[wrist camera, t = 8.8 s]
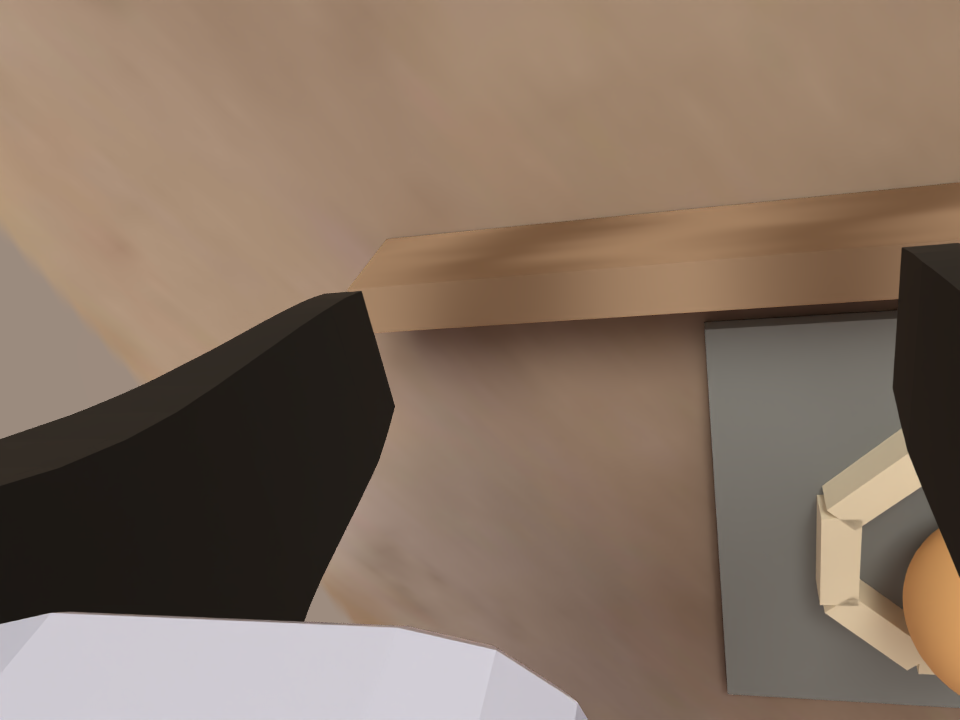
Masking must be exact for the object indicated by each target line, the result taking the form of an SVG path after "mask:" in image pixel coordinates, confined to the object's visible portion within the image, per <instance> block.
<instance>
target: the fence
mask: <svg viewBox="0 0 960 720" xmlns="http://www.w3.org/2000/svg"><path fill="white" fill-rule="evenodd" d="M949 243H960V183H950V184H940V185H930V186H920V187H910V188H899V189H889V190H879V191H869V192H859V193H849V194H839V195H829V196H818V197H808V198H798V199H788V200H778V201H768V202H758V203H748V204H737V205H727V206H717V207H707V208H697V209H687V210H677V211H667V212H656V213H646V214H636V215H626V216H616V217H606V218H596V219H586V220H575V221H565V222H555V223H545V224H535V225H525V226H515V227H505V228H494V229H484V230H474V231H464V232H454V233H444V234H434V235H424V236H414V237H403V238H393V239H386V241H385V242H384V243H383V245H382V246H381V247H380V248H379V250H378V251H377V252H376V254H375V255H374V256H373V257H372V259H371V260H370V261H369V263H368V264H367V265H366V266H365V268H364V269H363V270H362V272H361V273H360V274H359V275H358V277H357V278H356V279H355V281H354V282H353V283H352V284H351V286H350V287H349V288H348V292H354V291H362V293H363V297H364V300H365V304H366V307H367V311H368V314H369V318H370V321H371V325H372V328H373V332H374V333H382V332H397V331H413V330H428V329H443V328H459V327H474V326H490V325H505V324H521V323H536V322H551V321H567V320H582V319H598V318H613V317H629V316H644V315H659V314H675V313H690V312H706V311H721V310H737V309H752V308H767V307H783V306H798V305H814V304H829V303H845V302H860V301H875V300H891V299H898V296H899V281H900V266H901V250H902V247H912V246H924V245H937V244H949Z"/></svg>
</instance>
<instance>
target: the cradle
mask: <svg viewBox="0 0 960 720" xmlns="http://www.w3.org/2000/svg"><path fill="white" fill-rule="evenodd" d="M897 311H898V310H896V311H880V312H863V313H847V314H831V315H814V316H798V317H782V318H765V319H749V320H733V321H716V322H704V323H705V343H706V359H707V375H708V391H709V406H710V422H711V438H712V454H713V470H714V485H715V501H716V517H717V533H718V548H719V564H720V580H721V596H722V611H723V627H724V643H725V659H726V674H727V690H728V694H734V695H751V696H767V697H784V698H801V699H817V700H834V701H851V702H868V703H884V704H901V705H918V706H934V707H951V708H960V695H958V694H957V693H956V692H954V691H953V690H951V689H950V688H949V687H948V686H947V685H946V684H945V683H943V682H942V681H941V680H940V679H939V678H938V677H937V676H936V675H935V674H934V673H933V672H932V670H931V669H930V668H929V667H928V665H927V664H926V663H925V661H924V660H923V659H922V657H921V656H920V654H919V652H918V650H917V649H916V647H915V645H914V643H913V641H912V639H911V636H910V634H909V631H908V628H907V625H906V621H905V616H904V611H903V586H904V580H905V576H906V572H907V569H908V566H909V564H910V562H911V560H912V558H913V556H914V554H915V552H916V551H917V550H918V548H919V547H920V546H921V544H922V543H923V542H924V541H925V540H926V539H927V538H928V537H929V536H930V535H931V534H932V533H933V532H934V531H936V530H937V529H938V528H939V527H938V525H937V522H936V520H935V518H934V515H933V513H932V510H931V508H930V506H929V503H928V501H927V498H926V496H925V494H924V491H923V489H922V486H921V484H920V481H919V479H918V476H917V474H916V471H915V469H914V467H913V464H912V461H911V459H910V456H909V454H908V451H907V447H906V443H905V439H904V435H903V431H902V427H901V423H900V419H899V415H898V410H897V406H896V401H895V397H894V392H893V373H894V357H895V342H896V327H897Z"/></svg>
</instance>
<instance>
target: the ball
mask: <svg viewBox="0 0 960 720" xmlns="http://www.w3.org/2000/svg"><path fill="white" fill-rule="evenodd" d="M903 611H904V616H905V621H906V625H907V628H908V631H909V634H910V636H911V639H912V641H913V643H914V645H915V647H916V649H917V650H918V652H919V654H920V656H921V657H922V659H923V660H924V661H925V663H926V664H927V665H928V667H929V668H930V669H931V670H932V672H933V673H934V674H935V675H936V676H937V677H938V678H939V679H940V680H941V681H942V682H943V683H945V684H946V685H947V686H948V687H949V688H950V689H951V690H953V691H954V692H956V693H957V694H958V695H960V577H959V575H958V573H957V570H956V568H955V566H954V563H953V561H952V558H951V556H950V554H949V551H948V549H947V546H946V544H945V542H944V539H943V537H942V534H941V532H940V530H939V528H938V529H937V530H936V531H934V532H933V533H932V534H931V535H930V536H929V537H928V538H927V539H926V540H925V541H924V542H923V543H922V544H921V546H920V547H919V548H918V550H917V551H916V552H915V554H914V556H913V558H912V560H911V562H910V564H909V566H908V569H907V572H906V576H905V580H904V586H903Z"/></svg>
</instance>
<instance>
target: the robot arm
mask: <svg viewBox="0 0 960 720" xmlns="http://www.w3.org/2000/svg"><path fill="white" fill-rule="evenodd" d="M893 392H894V397H895V401H896V406H897V410H898V415H899V419H900V423H901V427H902V431H903V435H904V439H905V443H906V447H907V451H908V454H909V456H910V459H911V461H912V464H913V467H914V469H915V471H916V474H917V476H918V479H919V481H920V484H921V486H922V489H923V491H924V494H925V496H926V498H927V501H928V503H929V506H930V508H931V510H932V513H933V515H934V518H935V520H936V522H937V525H938V527H939V530H940V532H941V534H942V537H943V539H944V542H945V544H946V546H947V549H948V551H949V554H950V556H951V558H952V561H953V563H954V566H955V568H956V570H957V573H958V575H959V577H960V243H949V244H937V245H924V246H912V247H902V250H901V266H900V281H899V296H898V311H897V327H896V342H895V357H894V373H893ZM394 408H395V405H394V402H393V398H392V395H391V391H390V388H389V384H388V381H387V377H386V374H385V370H384V367H383V363H382V360H381V356H380V353H379V349H378V346H377V342H376V339H375V335H374V332H373V328H372V325H371V321H370V318H369V314H368V311H367V307H366V304H365V300H364V297H363V293H362V291H354V292H341V293H329V294H322V295H319V296H316V297H313V298H311V299H308V300H306V301H304V302H301V303H299V304H297V305H295V306H293V307H291V308H289V309H287V310H285V311H283V312H281V313H279V314H277V315H275V316H273V317H272V318H270V319H268V320H266V321H264V322H262V323H260V324H259V325H257V326H255V327H253V328H251V329H249V330H248V331H246V332H244V333H242V334H240V335H238V336H237V337H235V338H233V339H231V340H229V341H227V342H226V343H224V344H222V345H220V346H218V347H216V348H215V349H213V350H211V351H209V352H207V353H205V354H203V355H201V356H199V357H197V358H195V359H193V360H191V361H189V362H187V363H185V364H183V365H182V366H180V367H178V368H176V369H174V370H172V371H170V372H168V373H166V374H164V375H162V376H160V377H158V378H156V379H154V380H152V381H150V382H148V383H146V384H143V385H141V386H139V387H137V388H135V389H133V390H130V391H128V392H126V393H124V394H122V395H119V396H117V397H114V398H112V399H109V400H107V401H105V402H102V403H100V404H97V405H95V406H92V407H90V408H88V409H85V410H83V411H80V412H77V413H75V414H72V415H70V416H67V417H64V418H61V419H58V420H55V421H52V422H49V423H46V424H43V425H40V426H38V427H35V428H32V429H29V430H26V431H23V432H20V433H17V434H14V435H11V436H9V437H6V438H3V439H0V720H588V719H587V717H586V716H585V714H584V712H583V711H582V709H581V707H580V706H579V704H578V702H577V701H575V700H574V699H573V698H572V697H571V696H570V695H569V694H567V693H566V692H565V691H564V690H562V689H561V688H559V687H558V686H556V685H554V684H553V683H551V682H550V681H548V680H547V679H545V678H543V677H542V676H540V675H539V674H537V673H536V672H534V671H533V670H531V669H529V668H528V667H526V666H525V665H523V664H522V663H520V662H519V661H517V660H515V659H514V658H512V657H511V656H509V655H508V654H506V653H505V652H503V651H501V650H500V649H498V648H497V647H495V646H493V645H489V644H485V643H480V642H476V641H471V640H467V639H463V638H458V637H454V636H449V635H445V634H441V633H436V632H432V631H427V630H423V629H419V628H414V627H410V626H395V625H372V624H348V623H323V622H304V620H305V618H306V615H307V612H308V609H309V607H310V604H311V602H312V599H313V597H314V595H315V593H316V590H317V588H318V586H319V583H320V581H321V579H322V577H323V575H324V573H325V571H326V569H327V567H328V564H329V562H330V560H331V558H332V556H333V554H334V552H335V550H336V548H337V546H338V544H339V542H340V540H341V538H342V536H343V534H344V532H345V530H346V528H347V526H348V524H349V522H350V520H351V518H352V516H353V514H354V512H355V510H356V508H357V506H358V504H359V502H360V500H361V497H362V495H363V493H364V491H365V489H366V487H367V485H368V483H369V481H370V479H371V477H372V474H373V472H374V470H375V468H376V466H377V464H378V461H379V459H380V455H381V452H382V449H383V446H384V443H385V440H386V437H387V433H388V430H389V426H390V423H391V419H392V415H393V412H394Z"/></svg>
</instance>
